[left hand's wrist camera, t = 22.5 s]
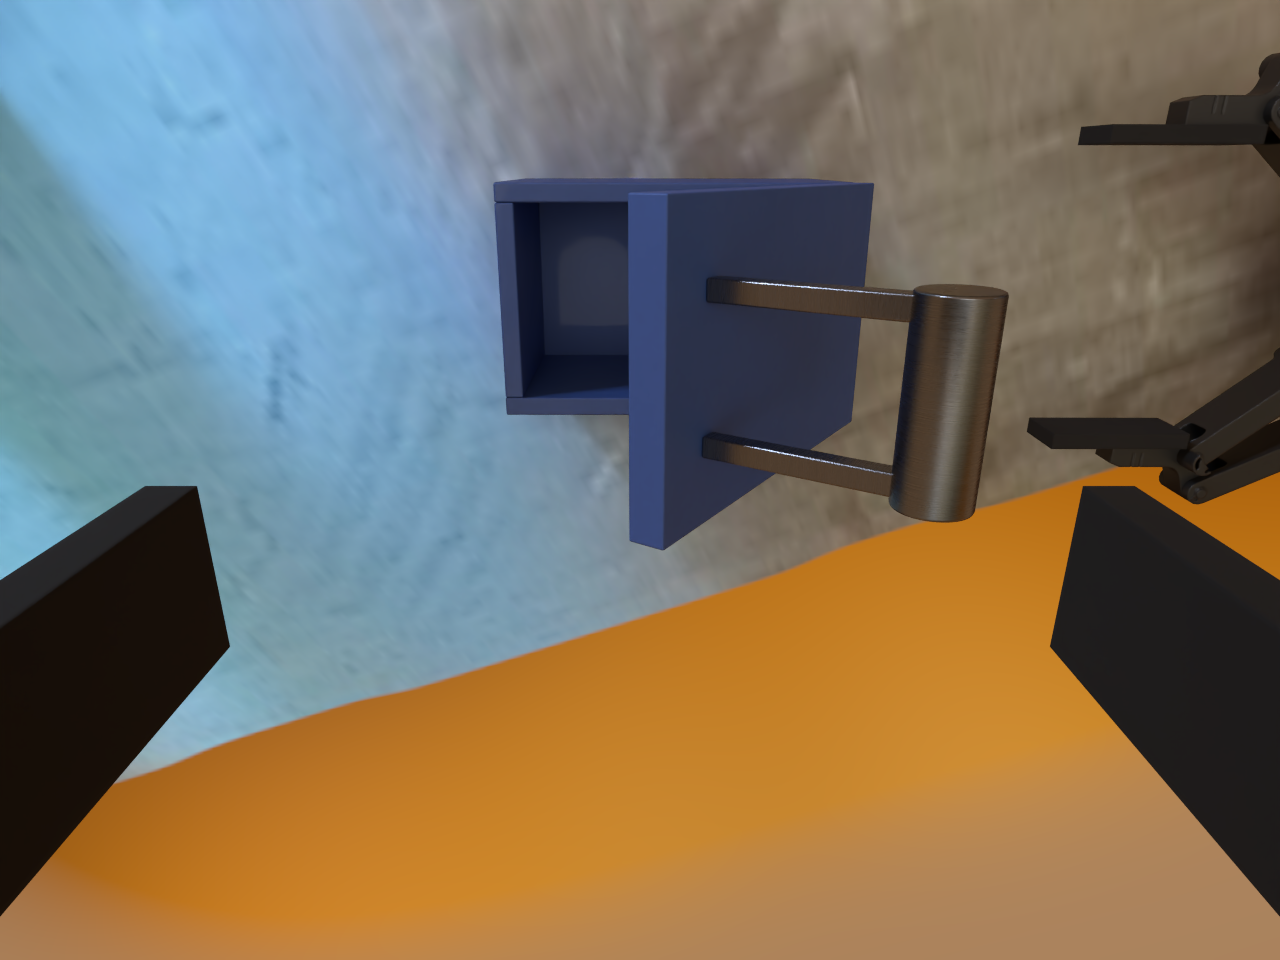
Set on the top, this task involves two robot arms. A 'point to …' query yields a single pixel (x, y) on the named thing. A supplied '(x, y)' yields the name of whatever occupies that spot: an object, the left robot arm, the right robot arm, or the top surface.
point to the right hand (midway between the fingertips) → (1064, 293)
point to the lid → (788, 357)
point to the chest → (572, 288)
